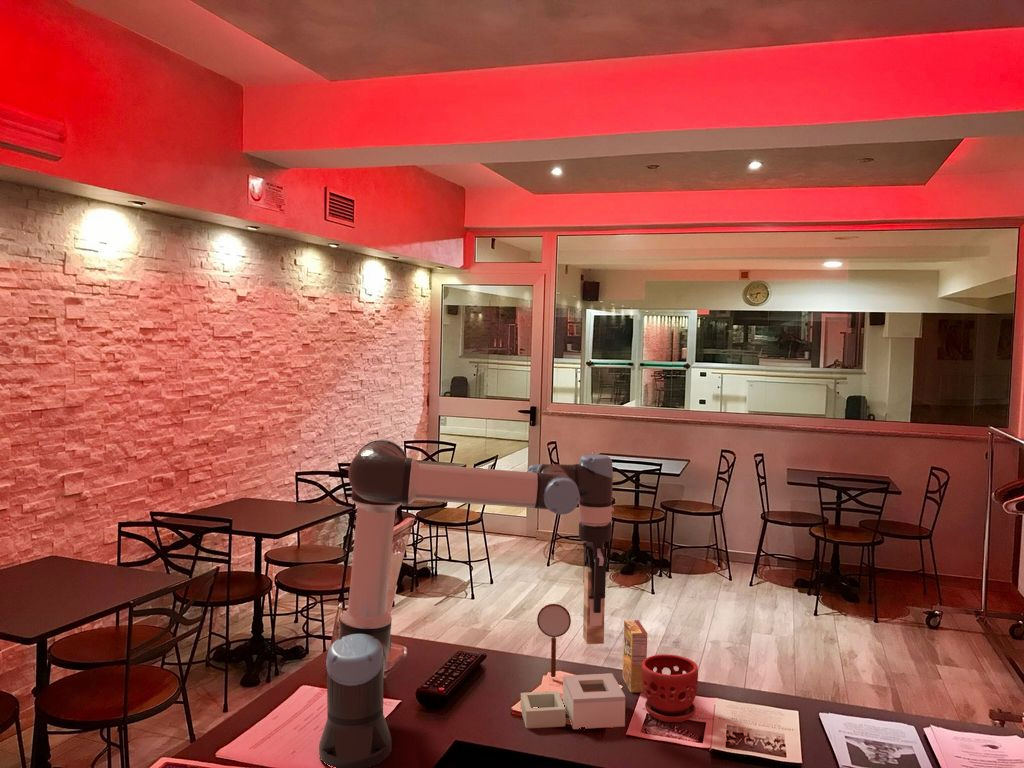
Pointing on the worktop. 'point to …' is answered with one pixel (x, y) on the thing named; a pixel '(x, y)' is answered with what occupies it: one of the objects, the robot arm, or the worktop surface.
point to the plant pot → (669, 687)
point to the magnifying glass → (553, 627)
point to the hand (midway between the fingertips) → (593, 621)
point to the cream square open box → (542, 709)
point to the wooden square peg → (590, 632)
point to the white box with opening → (594, 701)
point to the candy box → (634, 654)
